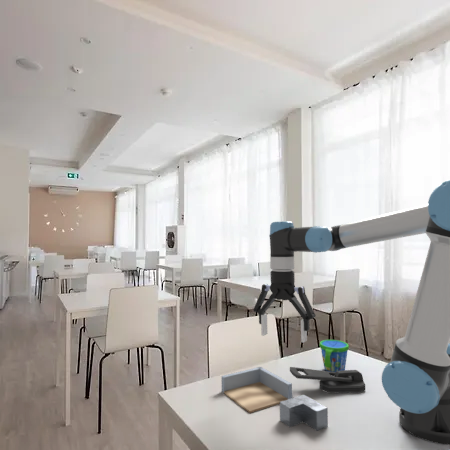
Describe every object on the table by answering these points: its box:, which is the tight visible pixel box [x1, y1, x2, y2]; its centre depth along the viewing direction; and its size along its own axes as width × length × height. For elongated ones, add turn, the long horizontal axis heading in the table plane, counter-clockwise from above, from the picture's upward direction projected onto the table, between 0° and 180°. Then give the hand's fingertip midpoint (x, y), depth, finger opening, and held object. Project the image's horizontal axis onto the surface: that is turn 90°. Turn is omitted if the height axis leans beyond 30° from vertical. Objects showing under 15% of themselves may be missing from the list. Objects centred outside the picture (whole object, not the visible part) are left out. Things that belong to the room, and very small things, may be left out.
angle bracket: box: [279, 394, 329, 432], centre depth 92 cm, size 9×9×5 cm
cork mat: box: [223, 382, 288, 414], centre depth 108 cm, size 15×14×1 cm
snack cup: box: [319, 339, 350, 372], centre depth 130 cm, size 16×10×10 cm
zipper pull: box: [289, 366, 366, 394], centre depth 114 cm, size 9×7×25 cm
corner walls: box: [221, 366, 293, 399], centre depth 109 cm, size 16×16×5 cm
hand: (283, 337), depth 107 cm, fingers open, 13 cm apart
